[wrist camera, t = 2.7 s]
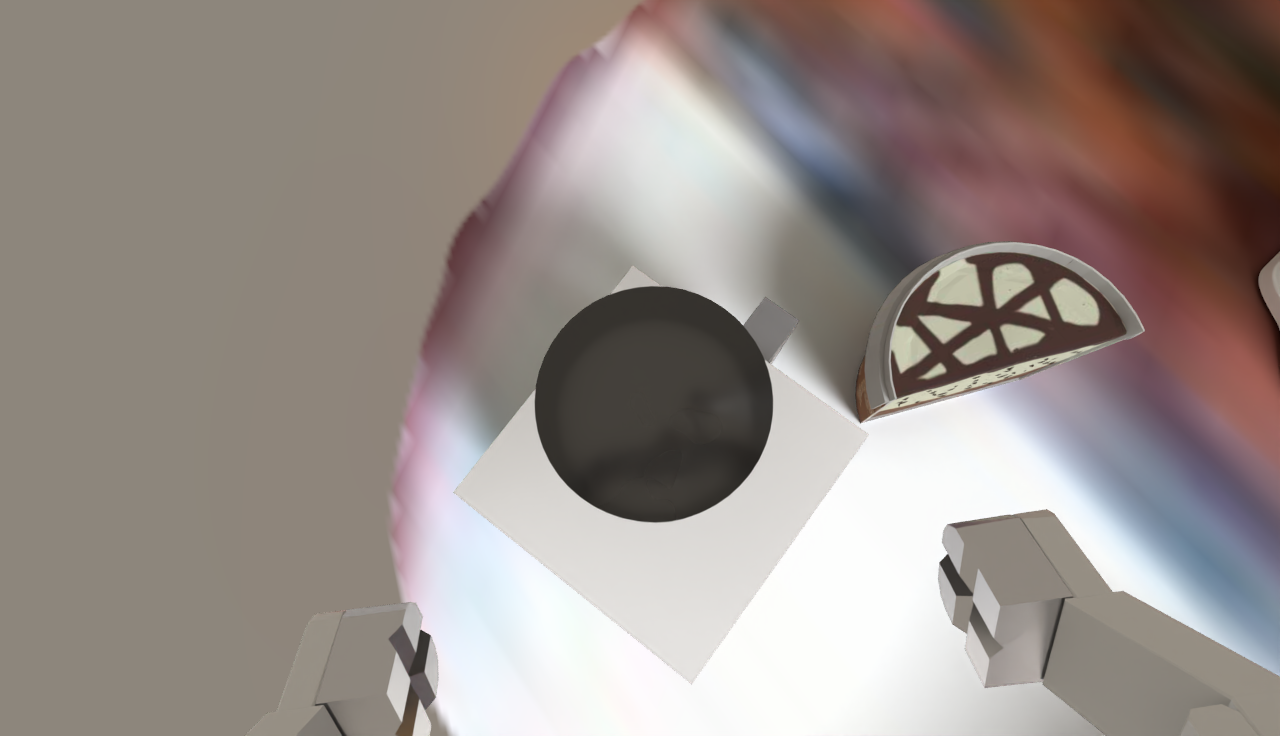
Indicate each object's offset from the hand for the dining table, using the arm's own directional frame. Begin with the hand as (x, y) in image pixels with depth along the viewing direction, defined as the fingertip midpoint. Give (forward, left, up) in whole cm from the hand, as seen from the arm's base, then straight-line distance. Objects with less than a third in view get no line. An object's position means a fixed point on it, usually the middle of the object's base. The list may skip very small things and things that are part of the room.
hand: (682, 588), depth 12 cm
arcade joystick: (-4, -2, -31) cm, 31 cm away
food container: (-17, +5, -31) cm, 36 cm away
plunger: (-2, -2, -21) cm, 21 cm away
